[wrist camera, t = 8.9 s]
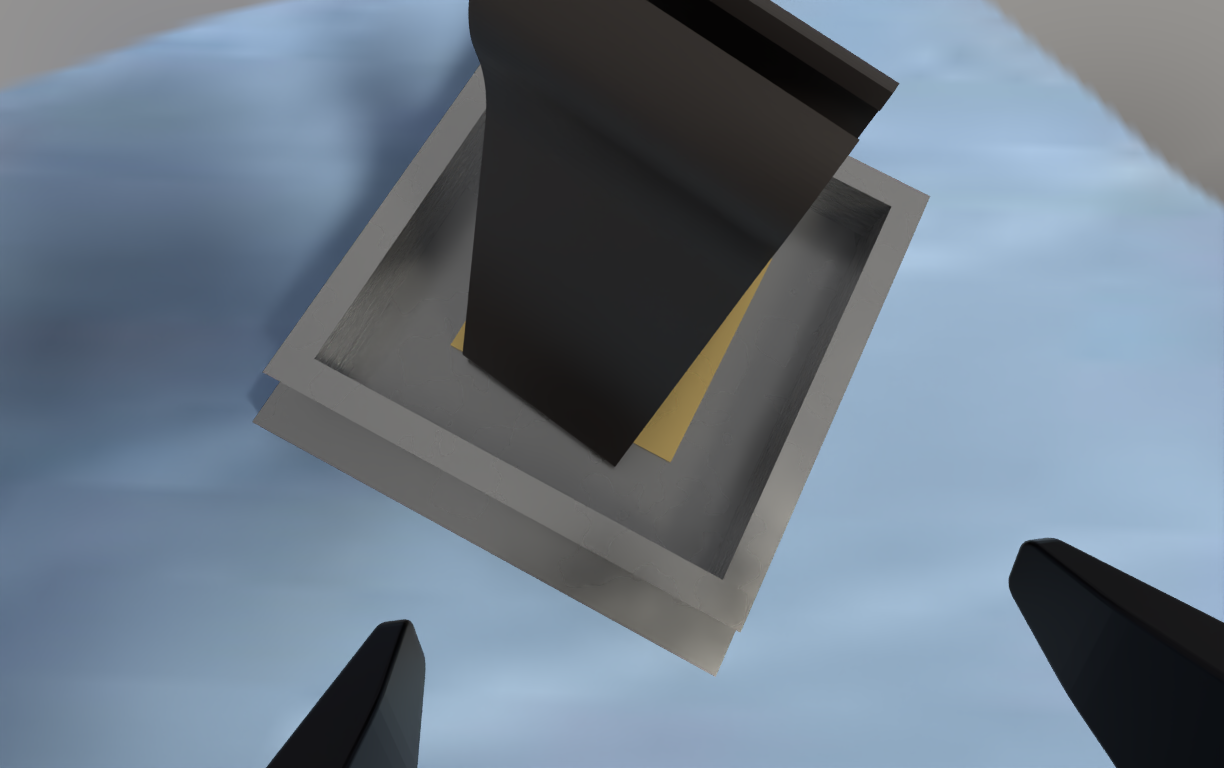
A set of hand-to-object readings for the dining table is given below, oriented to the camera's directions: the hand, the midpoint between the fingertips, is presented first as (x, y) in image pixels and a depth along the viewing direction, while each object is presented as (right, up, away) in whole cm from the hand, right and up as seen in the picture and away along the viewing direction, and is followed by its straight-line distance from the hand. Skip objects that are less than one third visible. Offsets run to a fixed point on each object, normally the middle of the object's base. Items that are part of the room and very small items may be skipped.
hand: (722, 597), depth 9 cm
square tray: (-2, +6, +12) cm, 14 cm away
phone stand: (-1, +6, +11) cm, 13 cm away
